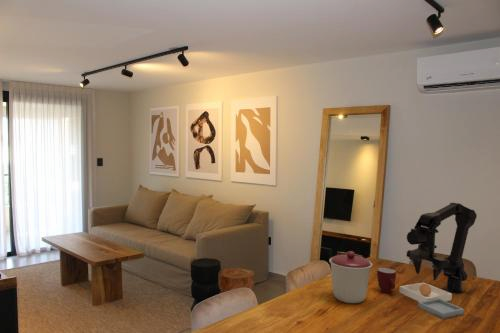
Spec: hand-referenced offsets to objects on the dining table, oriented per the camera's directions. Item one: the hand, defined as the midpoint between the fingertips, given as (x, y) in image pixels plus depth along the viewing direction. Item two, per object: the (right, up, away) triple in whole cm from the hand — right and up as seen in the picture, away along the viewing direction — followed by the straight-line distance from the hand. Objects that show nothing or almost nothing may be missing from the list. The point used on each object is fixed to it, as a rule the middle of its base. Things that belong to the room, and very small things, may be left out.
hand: (426, 276), depth 175 cm
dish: (0, -9, 0) cm, 9 cm away
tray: (-1, -10, -15) cm, 18 cm away
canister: (-36, -8, -5) cm, 38 cm away
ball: (0, -6, 0) cm, 6 cm away
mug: (-16, -9, +4) cm, 19 cm away
